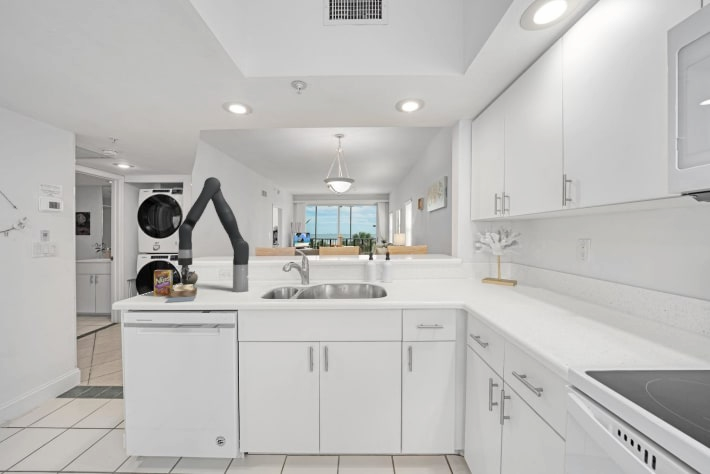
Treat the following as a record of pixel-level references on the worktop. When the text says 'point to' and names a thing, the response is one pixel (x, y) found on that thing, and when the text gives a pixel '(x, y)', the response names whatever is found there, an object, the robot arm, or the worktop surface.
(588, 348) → the worktop surface
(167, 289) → the candy box
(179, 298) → the mat
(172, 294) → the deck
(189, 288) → the tile
